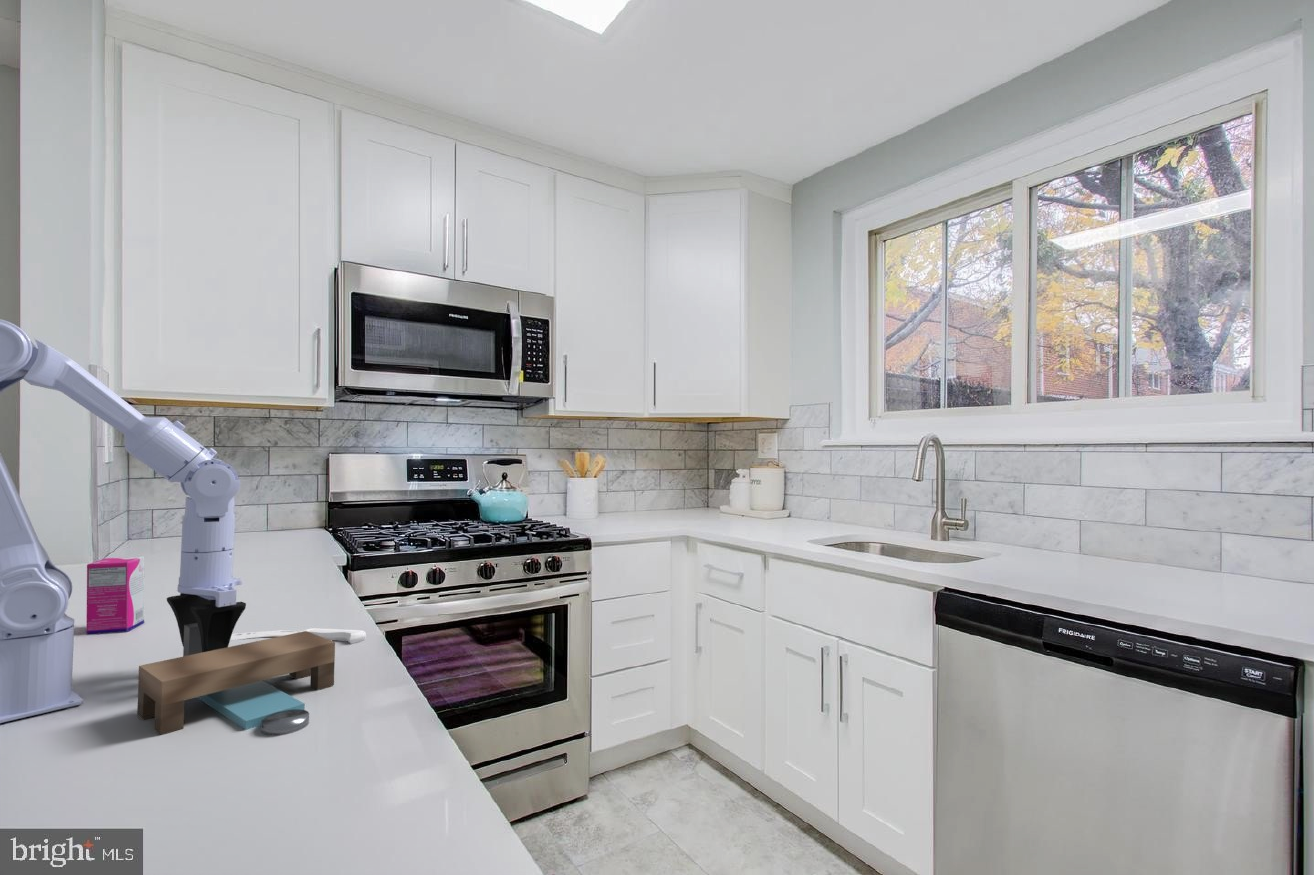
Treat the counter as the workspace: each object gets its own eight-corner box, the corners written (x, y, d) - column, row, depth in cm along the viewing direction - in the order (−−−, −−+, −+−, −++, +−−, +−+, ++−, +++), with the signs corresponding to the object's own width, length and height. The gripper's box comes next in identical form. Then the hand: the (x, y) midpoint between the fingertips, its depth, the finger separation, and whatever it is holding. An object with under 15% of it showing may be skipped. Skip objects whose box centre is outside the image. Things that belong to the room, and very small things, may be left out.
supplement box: (103, 625, 105) (105, 557, 106) (145, 622, 107) (147, 555, 107) (83, 634, 100) (86, 563, 100) (128, 632, 101) (130, 561, 102)
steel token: (281, 741, 65) (281, 729, 65) (250, 733, 67) (251, 722, 67) (318, 723, 69) (318, 713, 69) (288, 717, 71) (289, 706, 71)
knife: (166, 636, 98) (211, 623, 106) (167, 647, 98) (211, 632, 106) (333, 644, 92) (368, 629, 100) (333, 655, 92) (368, 639, 100)
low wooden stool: (160, 734, 65) (162, 682, 66) (137, 714, 70) (138, 665, 70) (333, 685, 80) (335, 642, 80) (304, 671, 85) (306, 630, 85)
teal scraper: (245, 730, 67) (247, 664, 67) (173, 681, 81) (174, 626, 81) (304, 712, 72) (306, 651, 72) (226, 668, 85) (228, 617, 86)
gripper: (264, 552, 82) (260, 656, 81) (221, 541, 90) (217, 635, 90) (200, 558, 76) (196, 670, 76) (161, 546, 85) (157, 647, 84)
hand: (203, 652), depth 82 cm, fingers open, 7 cm apart
